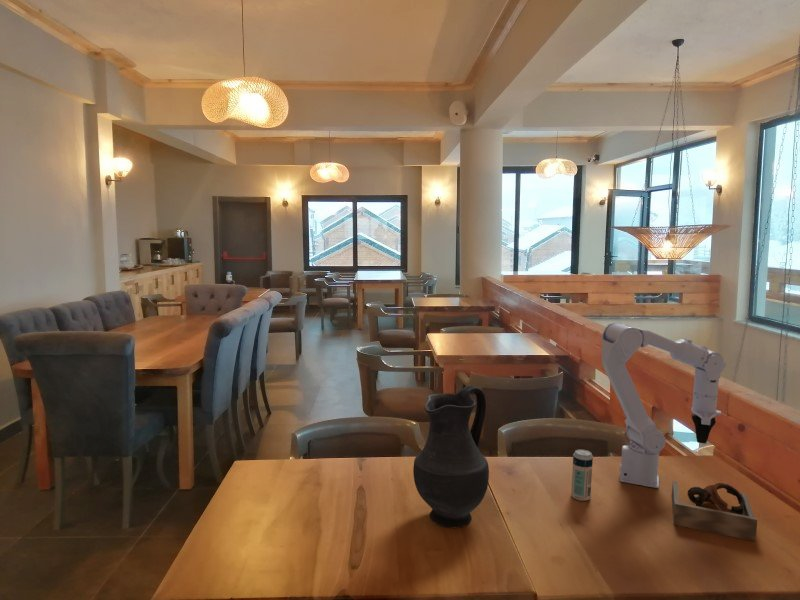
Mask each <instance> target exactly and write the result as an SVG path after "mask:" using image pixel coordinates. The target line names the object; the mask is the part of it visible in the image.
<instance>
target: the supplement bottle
mask: <svg viewBox="0 0 800 600" xmlns="http://www.w3.org/2000/svg"><path fill="white" fill-rule="evenodd" d="M572 456H573V457H572V475H571V489H570V490H571V491H570V496H571V497H572V498H573V499H575V500H577V501H580V502H587V501H588V500H589V501H590V499H592V497H591V496H592V479H593V478H592V476H593V465H594V464H593V463H594V462H593V461H594V456H593V454H592V452H591V451H589V450H586V449H582V448H581V449H579V448H578V449H575V451H574V453H572Z"/></svg>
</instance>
